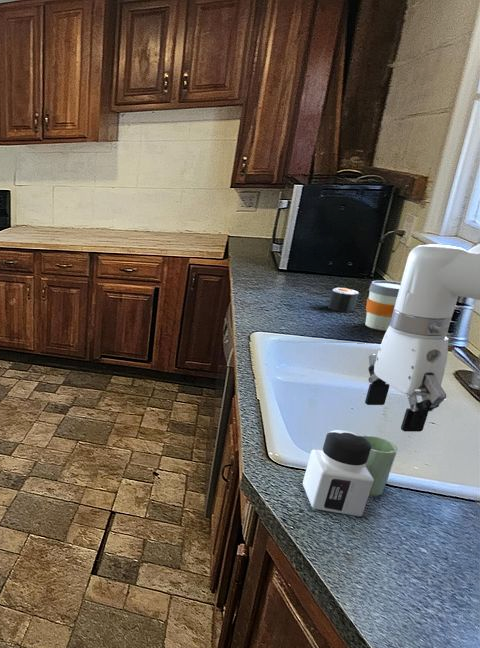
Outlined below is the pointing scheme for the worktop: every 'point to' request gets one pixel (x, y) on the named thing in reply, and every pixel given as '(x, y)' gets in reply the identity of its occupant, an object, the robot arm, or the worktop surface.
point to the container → (339, 474)
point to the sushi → (343, 299)
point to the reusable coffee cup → (381, 304)
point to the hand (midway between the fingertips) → (391, 416)
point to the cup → (380, 462)
